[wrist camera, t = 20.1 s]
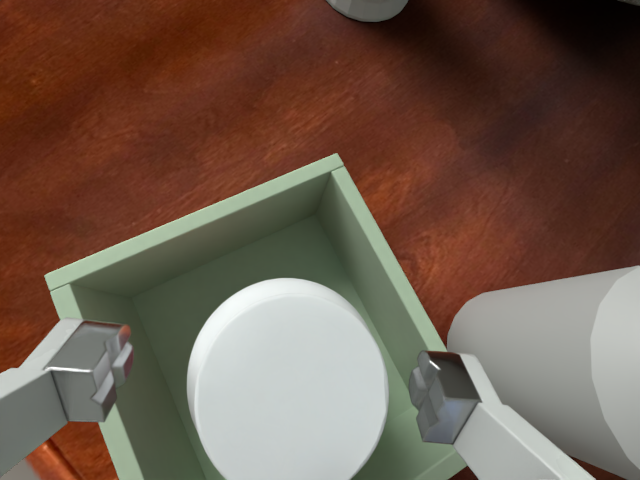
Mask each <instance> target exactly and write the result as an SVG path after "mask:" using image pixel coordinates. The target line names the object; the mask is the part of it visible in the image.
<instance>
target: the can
mask: <svg viewBox="0 0 640 480" xmlns="http://www.w3.org/2000/svg"><path fill="white" fill-rule="evenodd" d="M447 351H448V352H454V353H467V354H474V355H475V356H476V357H477V358H478V360H479V362H480V363H481V365H482V367H483V369H484V371H485V373H486V375H487V377H488V378H489V380H490V382H491V384H492V386H493V388H494V390H495V392H496V393H497V395H498V397H499V399H500V401H501V403H502V404H503V405H508V406H509V407H511V408H512V409H513V410H514V411H515V412H516V413H518V414H519V415H520V416H521V417H522V418H524V419H525V420H526V421H527V422H528V423H530V424H531V425H532V426H533V427H534V428H536V429H537V430H538V431H539V432H540V433H541V434H543V435H544V436H545V437H546V438H547V439H549V440H550V441H551V442H552V443H553V444H555V445H556V446H557V447H558V448H559V449H561V450H562V451H563V452H564V453H565V454H568V455H570V456H572V457H575V458H577V459H579V460H582V461H584V462H587V463H589V464H591V465H594V466H596V467H598V468H601V469H603V470H606V471H608V472H610V473H613V474H615V475H618V476H620V477H622V478H625V479H627V480H640V266H634V267H628V268H623V269H617V270H611V271H605V272H600V273H594V274H588V275H583V276H577V277H571V278H566V279H560V280H554V281H548V282H543V283H537V284H531V285H526V286H520V287H514V288H509V289H503V290H497V291H491V292H486V293H482V294H480V295H478V296H476V297H475V298H473V299H471V300H469V301H467V302H466V304H465V305H464V306H463V307H462V308H461V309H460V311H459V312H458V313H457V314H456V315H455V317H454V320H453V322H452V325H451V327H450V330H449V332H448V337H447Z"/></svg>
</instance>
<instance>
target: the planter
mask: <svg viewBox="0 0 640 480" xmlns="http://www.w3.org/2000/svg"><path fill="white" fill-rule="evenodd" d="M618 1H621V2H625V3H629V4H633V5H637V6H640V0H618Z"/></svg>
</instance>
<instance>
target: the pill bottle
mask: <svg viewBox="0 0 640 480" xmlns="http://www.w3.org/2000/svg"><path fill="white" fill-rule="evenodd" d="M187 398H188V405H189V410H190V414H191V418H192V420H193V423H194V426H195V428H196V430H197V432H198V434H199V437H200V440H201V443H202V445H203V447H204V450H205V452H206V454H207V455H208V457H209V458H210V460H211V462H212V464H213V465H214V466H215V467H216V469H217V470H218V471H219V472H220V474H221V475H222V476H223V477H224V478H225V479H227V480H350V479H352V478H353V477H354V476H355V475H356V474H357V473H358V472H359V470H360V469H361V468H362V467H363V466H364V465H365V464H366V462H367V461H368V460H369V458H370V456H371V455H372V453H373V452H374V450H375V448H376V446H377V445H378V442H379V440H380V437H381V435H382V433H383V430H384V426H385V423H386V418H387V413H388V404H389V384H388V375H387V370H386V366H385V362H384V359H383V356H382V354H381V352H380V349H379V347H378V345H377V343H376V341H375V339H374V338H373V336H372V334H371V332H370V330H369V328H368V326H367V324H366V323H365V321H364V320H363V318H362V317H361V316H360V314H359V313H358V312H357V310H356V309H355V308H354V307H353V306H352V305H351V304H350V303H349V302H348V301H347V300H346V299H344V298H343V297H342V296H341V295H339V294H338V293H336V292H335V291H333V290H331V289H329V288H327V287H326V286H323V285H321V284H318V283H315V282H312V281H308V280H303V279H296V278H277V279H270V280H265V281H262V282H259V283H256V284H253V285H250V286H248V287H246V288H244V289H242V290H240V291H239V292H237V293H235V294H234V295H232V296H231V297H230V298H228V299H227V300H226V301H225V302H223V303H222V304H221V305H220V306H219V307H218V308H217V309H216V310H215V311H214V312H213V313H212V315H211V316H210V317H209V319H208V320H207V321H206V323H205V324H204V326H203V328H202V329H201V331H200V333H199V335H198V337H197V339H196V341H195V344H194V347H193V349H192V352H191V356H190V360H189V366H188V372H187Z"/></svg>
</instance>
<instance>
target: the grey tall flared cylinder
mask: <svg viewBox="0 0 640 480" xmlns="http://www.w3.org/2000/svg"><path fill="white" fill-rule="evenodd" d="M326 1H327V2H328V3H329V4H330V5H331V6H332V7H333V8H334V9H335V10H337V11H338V12H340V13H342V14H343V15H345V16H347V17H349V18H353V19H356V20H359V21H365V22H379V21H383V20H387V19H390V18H392V17H394V16H395V15H397V14H398V13H400V12H401V10H402V9H403V8H404V6H405V5H406V4H407V2H408V0H326Z"/></svg>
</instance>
